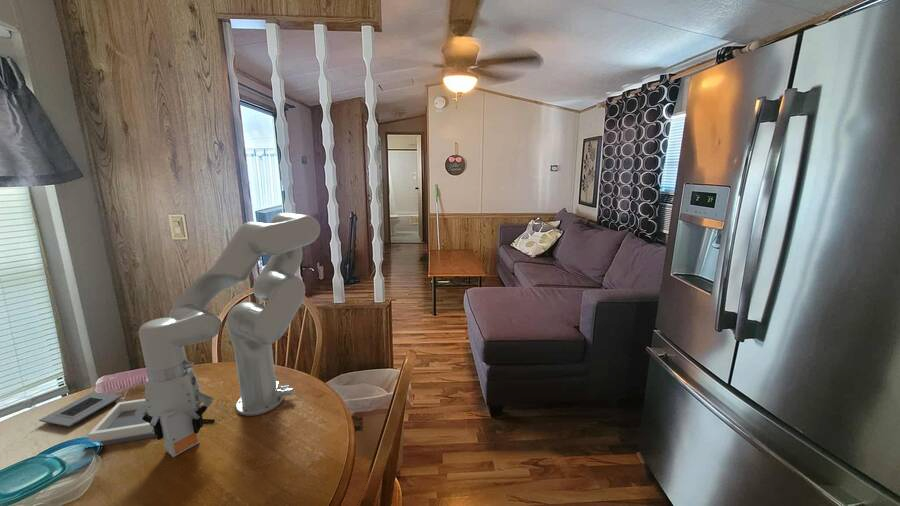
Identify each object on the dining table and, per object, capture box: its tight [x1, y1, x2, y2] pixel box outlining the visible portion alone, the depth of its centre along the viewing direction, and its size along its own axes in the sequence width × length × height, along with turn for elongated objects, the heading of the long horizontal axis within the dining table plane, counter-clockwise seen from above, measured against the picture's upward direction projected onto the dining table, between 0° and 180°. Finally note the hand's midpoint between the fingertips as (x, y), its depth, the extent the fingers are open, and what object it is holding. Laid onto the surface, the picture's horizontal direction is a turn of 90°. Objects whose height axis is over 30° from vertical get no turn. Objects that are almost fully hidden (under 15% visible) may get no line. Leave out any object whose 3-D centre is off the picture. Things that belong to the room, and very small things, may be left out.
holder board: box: [87, 398, 202, 446], centre depth 99 cm, size 21×14×4 cm, turn 106°
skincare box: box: [159, 411, 200, 458], centre depth 89 cm, size 6×4×12 cm
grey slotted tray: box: [38, 390, 123, 428], centre depth 103 cm, size 13×10×2 cm
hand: (180, 432), depth 90 cm, fingers closed on skincare box, 7 cm apart
